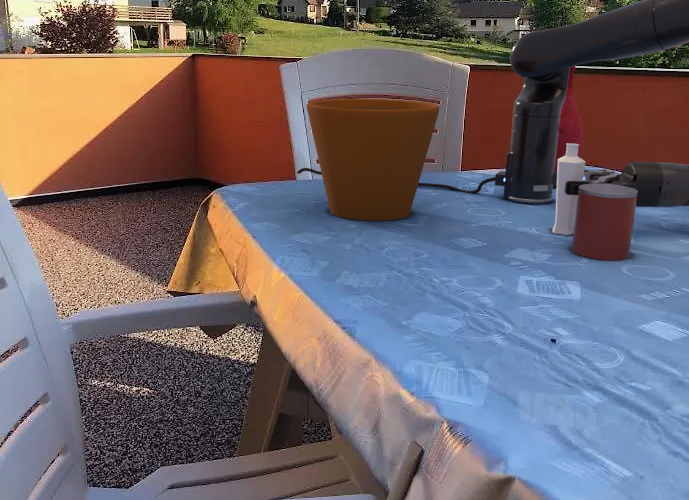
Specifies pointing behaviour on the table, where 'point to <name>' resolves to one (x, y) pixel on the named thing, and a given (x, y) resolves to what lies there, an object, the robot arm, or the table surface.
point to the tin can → (604, 221)
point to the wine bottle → (569, 123)
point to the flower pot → (371, 153)
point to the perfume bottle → (566, 205)
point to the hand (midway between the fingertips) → (558, 182)
